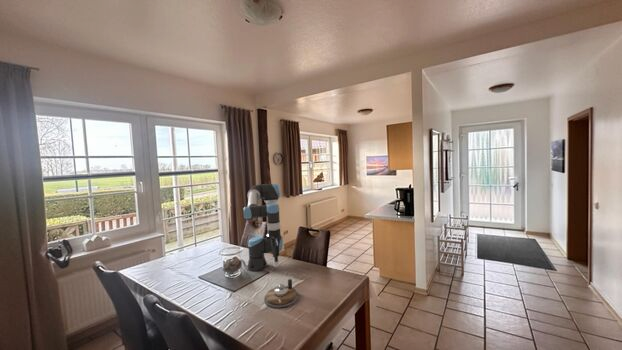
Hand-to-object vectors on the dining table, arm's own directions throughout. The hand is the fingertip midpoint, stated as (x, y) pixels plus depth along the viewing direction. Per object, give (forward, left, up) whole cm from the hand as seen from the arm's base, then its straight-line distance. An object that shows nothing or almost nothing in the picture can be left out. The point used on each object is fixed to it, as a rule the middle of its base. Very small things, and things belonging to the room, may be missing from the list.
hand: (276, 266), depth 155 cm
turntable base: (+9, 0, -16) cm, 18 cm away
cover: (+9, 0, -13) cm, 16 cm away
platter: (+9, 0, -15) cm, 17 cm away
